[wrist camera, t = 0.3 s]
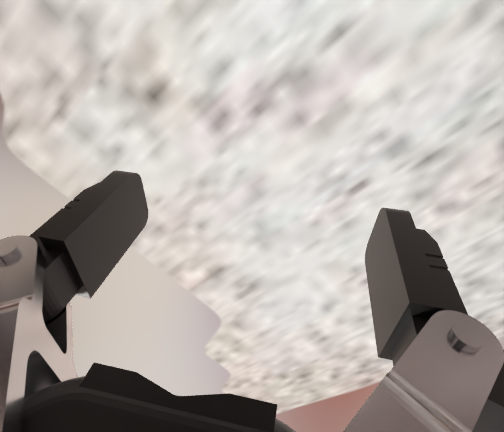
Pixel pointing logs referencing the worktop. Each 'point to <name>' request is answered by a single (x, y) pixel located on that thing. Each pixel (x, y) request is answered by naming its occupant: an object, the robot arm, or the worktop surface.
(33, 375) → the robot arm
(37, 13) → the worktop surface
